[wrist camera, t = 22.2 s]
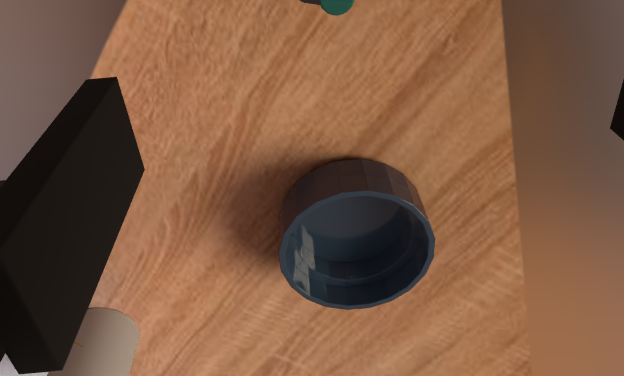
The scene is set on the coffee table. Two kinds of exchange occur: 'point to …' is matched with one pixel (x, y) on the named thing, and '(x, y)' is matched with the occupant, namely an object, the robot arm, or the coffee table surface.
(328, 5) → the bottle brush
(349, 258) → the bowl
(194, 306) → the coffee table surface
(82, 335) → the beige cylinder
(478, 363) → the coffee table surface
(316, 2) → the brush pot
